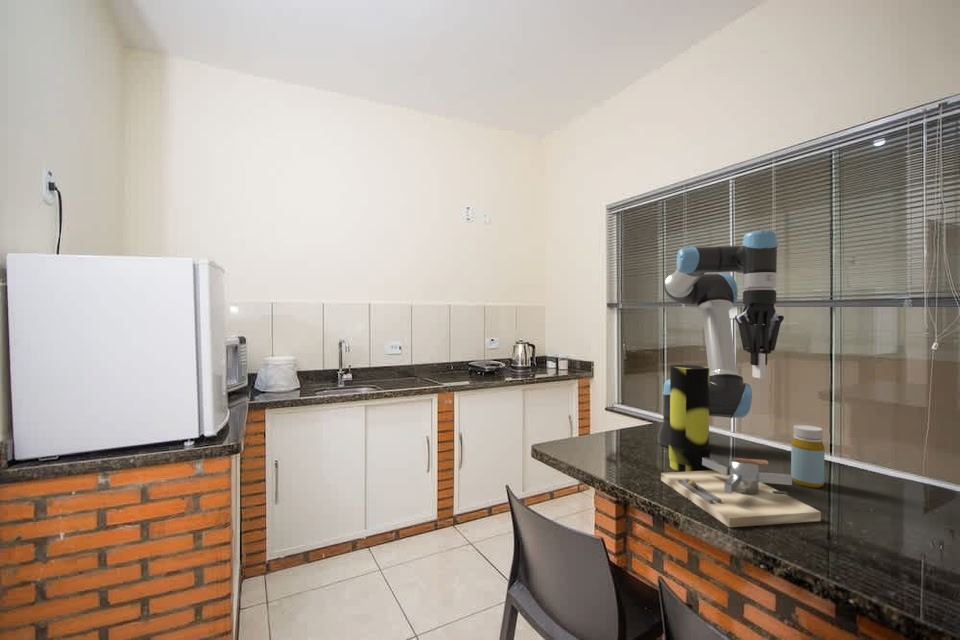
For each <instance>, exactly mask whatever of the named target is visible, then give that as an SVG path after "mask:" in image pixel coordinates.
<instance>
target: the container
mask: <svg viewBox="0 0 960 640" xmlns="http://www.w3.org/2000/svg"><path fill="white" fill-rule="evenodd" d="M669 367H670V370H669V371H670V372H669V373H670V375H669V377H670V378H669V379H670V442H669V448H668V459H669V467H670V468H671V469H672V470H674V472H688V471H708V470H709V469H710V468H708V467H706V466H704V465H702V458H703V457H707V458H710V459H711V448H710V416H709V367H708V366H704V365H692V364H673V365H670V366H669Z"/></svg>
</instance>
